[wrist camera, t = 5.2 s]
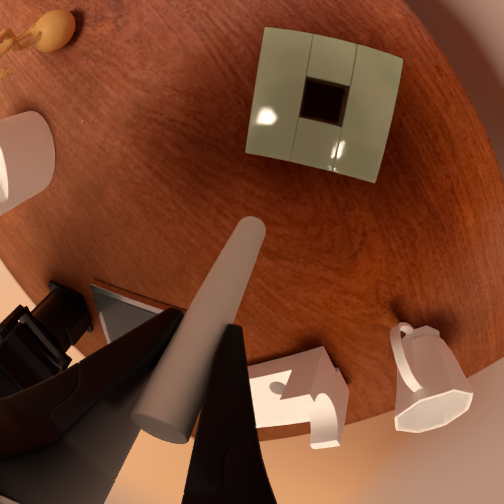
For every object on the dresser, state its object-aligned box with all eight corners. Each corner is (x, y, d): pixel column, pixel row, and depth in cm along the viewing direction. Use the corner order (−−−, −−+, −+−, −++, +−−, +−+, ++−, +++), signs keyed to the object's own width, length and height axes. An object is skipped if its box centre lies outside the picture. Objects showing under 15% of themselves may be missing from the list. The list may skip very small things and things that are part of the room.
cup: (403, 373, 25) (411, 440, 18) (353, 324, 23) (356, 405, 16) (460, 341, 21) (481, 407, 15) (422, 279, 19) (452, 358, 12)
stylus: (237, 235, 15) (136, 429, 6) (241, 210, 14) (123, 405, 5) (265, 241, 14) (189, 450, 5) (269, 216, 14) (186, 430, 5)
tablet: (112, 343, 33) (108, 349, 32) (95, 279, 27) (89, 284, 27) (210, 380, 32) (208, 387, 31) (215, 319, 26) (212, 326, 25)
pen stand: (257, 143, 17) (244, 152, 14) (274, 40, 14) (264, 26, 11) (365, 168, 17) (375, 183, 14) (387, 66, 13) (403, 58, 10)
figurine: (102, 36, 15) (-31, 39, 5) (64, 90, 17) (-55, 122, 7) (66, -5, 12) (-42, -7, 2) (34, 44, 15) (-67, 62, 5)
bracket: (324, 340, 26) (309, 394, 19) (349, 390, 26) (340, 445, 19) (220, 367, 31) (188, 410, 25) (249, 409, 32) (224, 453, 25)
